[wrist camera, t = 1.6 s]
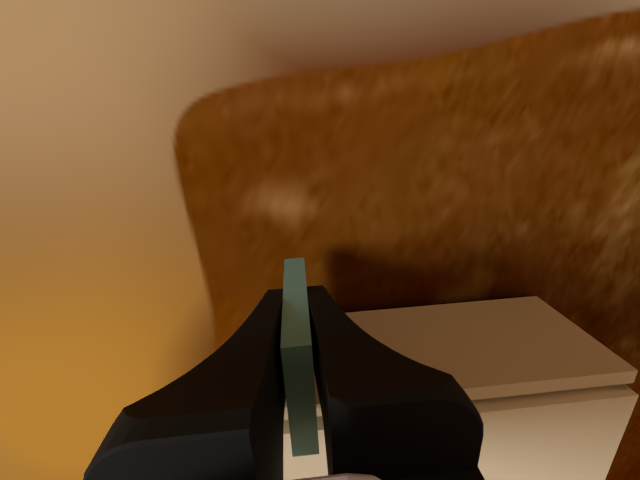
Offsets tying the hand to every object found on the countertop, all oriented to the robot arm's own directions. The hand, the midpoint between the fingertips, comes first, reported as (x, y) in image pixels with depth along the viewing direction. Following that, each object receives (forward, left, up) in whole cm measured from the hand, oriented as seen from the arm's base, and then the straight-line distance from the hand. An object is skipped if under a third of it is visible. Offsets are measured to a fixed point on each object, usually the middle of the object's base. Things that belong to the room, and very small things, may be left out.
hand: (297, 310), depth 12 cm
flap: (-6, +1, -4) cm, 7 cm away
